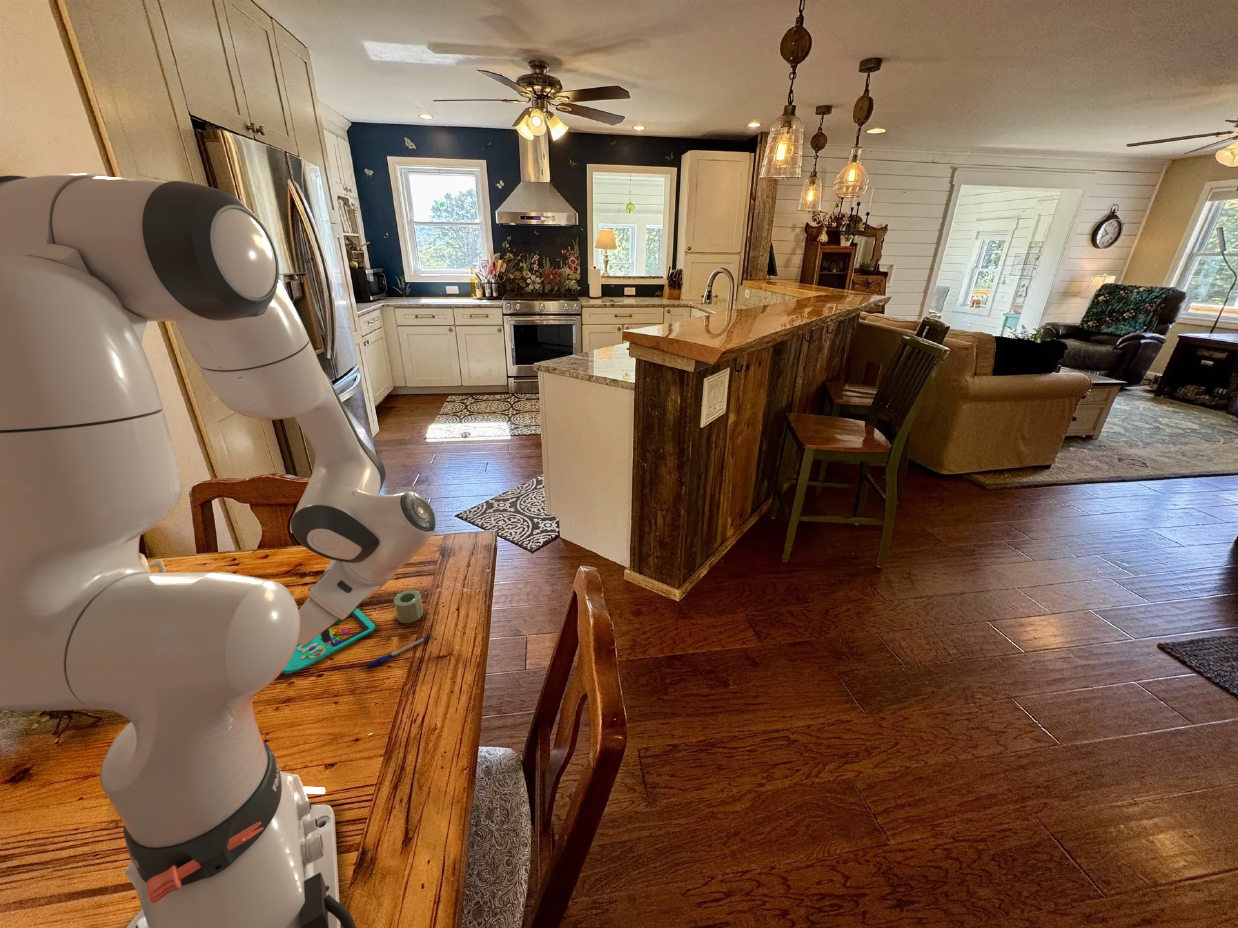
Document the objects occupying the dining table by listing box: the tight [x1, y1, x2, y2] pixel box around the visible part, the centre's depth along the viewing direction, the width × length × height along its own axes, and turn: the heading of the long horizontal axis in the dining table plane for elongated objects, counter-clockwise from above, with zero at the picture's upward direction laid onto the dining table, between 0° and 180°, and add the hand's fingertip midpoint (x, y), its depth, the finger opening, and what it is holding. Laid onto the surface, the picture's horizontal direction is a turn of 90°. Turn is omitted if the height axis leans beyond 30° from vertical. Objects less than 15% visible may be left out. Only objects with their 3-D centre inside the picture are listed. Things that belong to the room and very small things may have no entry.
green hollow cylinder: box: [393, 589, 424, 624], centre depth 93 cm, size 5×5×4 cm
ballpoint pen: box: [366, 636, 429, 669], centre depth 85 cm, size 10×1×1 cm, turn 135°
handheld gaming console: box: [281, 608, 376, 675], centre depth 87 cm, size 8×1×15 cm
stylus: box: [307, 584, 332, 646], centre depth 83 cm, size 1×1×12 cm
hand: (315, 613), depth 83 cm, fingers closed on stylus, 1 cm apart
